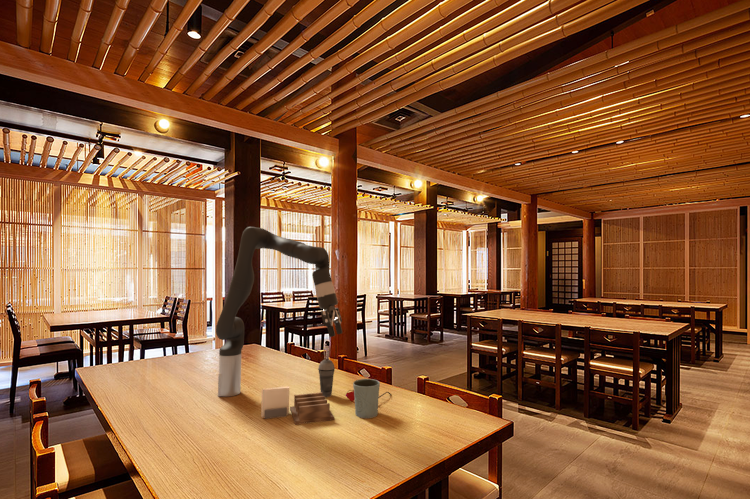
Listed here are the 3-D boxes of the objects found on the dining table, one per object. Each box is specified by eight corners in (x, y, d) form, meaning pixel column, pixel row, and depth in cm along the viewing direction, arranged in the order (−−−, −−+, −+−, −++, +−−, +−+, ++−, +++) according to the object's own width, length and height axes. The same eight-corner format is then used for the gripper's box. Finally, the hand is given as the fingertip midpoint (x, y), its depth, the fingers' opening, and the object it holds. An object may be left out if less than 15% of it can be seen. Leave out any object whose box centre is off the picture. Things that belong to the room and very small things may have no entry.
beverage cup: (331, 398, 165) (332, 351, 166) (315, 397, 167) (316, 350, 168) (336, 393, 172) (337, 348, 173) (321, 392, 174) (321, 347, 175)
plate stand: (264, 418, 143) (264, 410, 143) (263, 413, 148) (263, 405, 148) (286, 416, 146) (286, 408, 146) (285, 411, 151) (285, 403, 151)
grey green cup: (382, 411, 151) (383, 380, 152) (374, 420, 142) (374, 387, 142) (358, 408, 155) (358, 377, 155) (348, 417, 145) (349, 384, 146)
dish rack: (295, 424, 138) (295, 408, 138) (290, 409, 152) (290, 395, 153) (333, 419, 143) (334, 404, 143) (325, 405, 157) (325, 391, 157)
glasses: (345, 401, 164) (345, 389, 164) (364, 390, 178) (364, 379, 178) (374, 407, 157) (374, 394, 157) (391, 395, 172) (391, 384, 172)
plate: (261, 417, 144) (262, 390, 145) (261, 415, 146) (261, 388, 147) (288, 414, 148) (289, 387, 148) (288, 412, 150) (288, 386, 150)
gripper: (324, 297, 162) (333, 335, 159) (310, 297, 148) (320, 339, 145) (340, 292, 160) (350, 330, 158) (328, 292, 147) (339, 334, 144)
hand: (336, 335), depth 152 cm, fingers open, 8 cm apart
